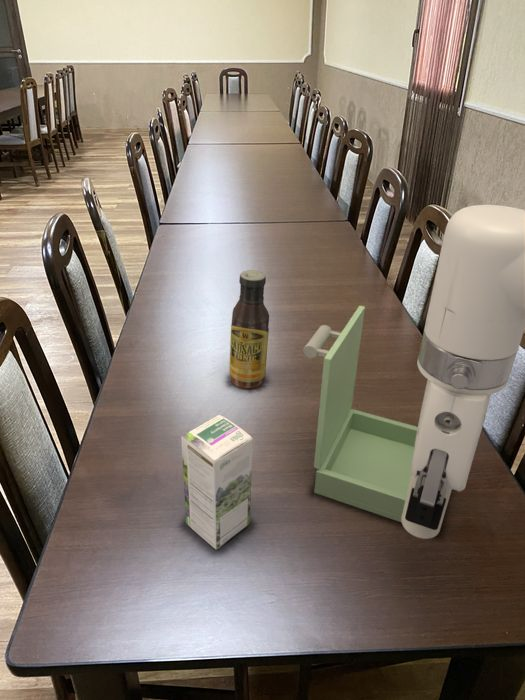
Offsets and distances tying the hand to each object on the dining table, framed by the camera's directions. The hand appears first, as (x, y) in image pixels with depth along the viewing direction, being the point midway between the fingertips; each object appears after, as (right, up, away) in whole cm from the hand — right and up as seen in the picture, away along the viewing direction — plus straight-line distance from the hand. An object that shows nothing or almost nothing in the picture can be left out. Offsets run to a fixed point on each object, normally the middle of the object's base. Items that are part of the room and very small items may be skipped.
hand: (425, 505), depth 55 cm
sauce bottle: (-19, +11, +38) cm, 44 cm away
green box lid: (-6, +11, +15) cm, 20 cm away
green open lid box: (0, -1, +19) cm, 19 cm away
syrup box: (-22, -6, +11) cm, 25 cm away
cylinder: (0, -2, +1) cm, 3 cm away
